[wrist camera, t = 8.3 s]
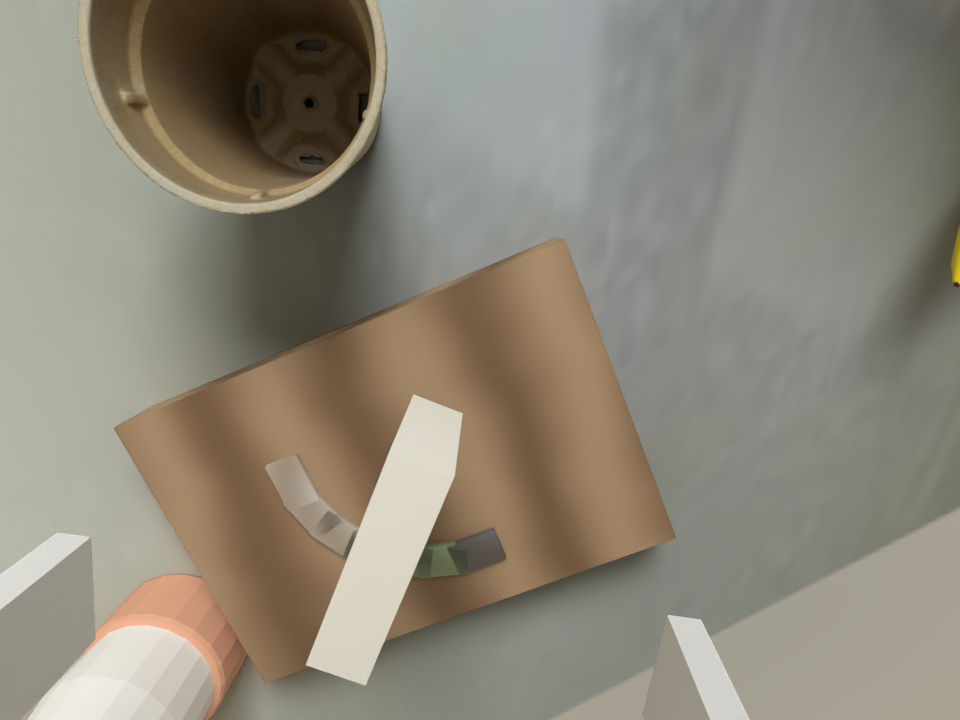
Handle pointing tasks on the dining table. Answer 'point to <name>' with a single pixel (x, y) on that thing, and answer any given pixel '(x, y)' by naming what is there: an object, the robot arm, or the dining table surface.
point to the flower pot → (236, 93)
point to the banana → (956, 261)
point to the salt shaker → (152, 659)
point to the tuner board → (369, 436)
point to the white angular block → (389, 541)
